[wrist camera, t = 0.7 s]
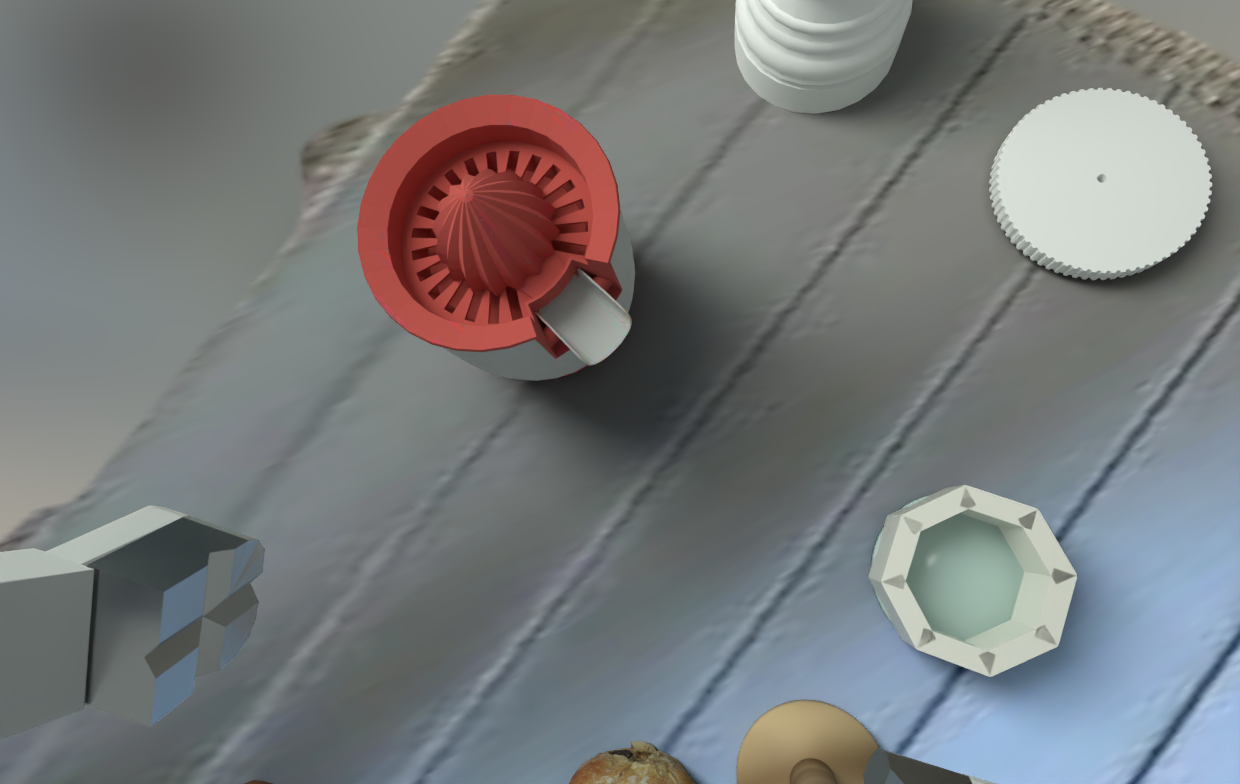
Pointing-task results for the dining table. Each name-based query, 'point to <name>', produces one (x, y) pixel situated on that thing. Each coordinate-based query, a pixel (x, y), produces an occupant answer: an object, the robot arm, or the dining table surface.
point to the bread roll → (632, 767)
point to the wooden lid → (805, 746)
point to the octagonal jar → (972, 579)
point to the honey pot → (817, 49)
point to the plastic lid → (1100, 184)
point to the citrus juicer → (500, 238)
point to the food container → (257, 782)
